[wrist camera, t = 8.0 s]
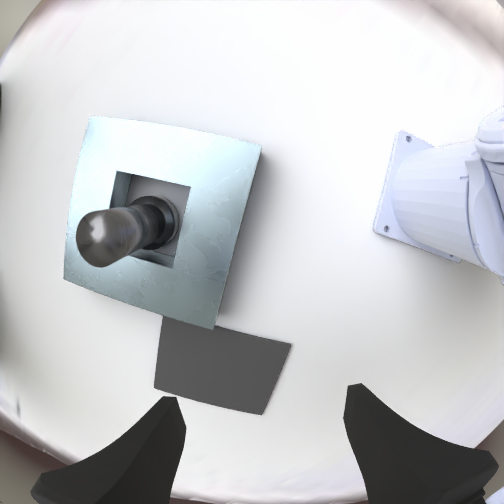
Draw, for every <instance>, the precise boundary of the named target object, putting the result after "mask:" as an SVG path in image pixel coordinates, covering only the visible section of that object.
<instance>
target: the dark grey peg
mask: <svg viewBox="0 0 504 504" xmlns="http://www.w3.org/2000/svg"><path fill="white" fill-rule="evenodd" d="M178 226H179V217H178V213H177V210H176V208H175V206H174V205H173V204H172V203H171V202H170V201H169V200H168V199H166V198H164V197H161V196H144V197H140V198H138V199H136V200H135V201H133V202H132V203H131V204H130V206H125V207H118V208H111V209H104V210H98V211H92V212H89V213H87V214H86V215H85V216H84V217H83V218H82V219H81V220H80V222H79V224H78V226H77V230H76V244H77V248H78V251H79V253H80V255H81V256H82V258H83V259H84V260H85V261H86V262H87V263H88V264H90V265H92V266H94V267H98V268H103V267H107V266H109V265H111V264H113V263H115V262H116V261H118V260H120V259H122V258H124V257H126V256H128V255H130V254H132V253H133V252H135V251H137V250H139V249H144V250H154V249H157V248H160V247H161V246H163V245H165V244H166V243H168V242H169V241H171V240H172V239H173V237H174V236H175V234H176V232H177V230H178Z"/></svg>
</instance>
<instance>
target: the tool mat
mask: <svg viewBox="0 0 504 504" xmlns="http://www.w3.org/2000/svg"><path fill="white" fill-rule="evenodd" d="M290 347H291V344H289V343H284V342H279V341H275V340H270V339H266V338H262V337H257V336H253V335H249V334H245V333H241V332H237V331H233V330H229V329H225V328H221V327H218V326H214V328H213V330H211V329H208V328H204V327H200V326H197V325H193V324H190V323H186V322H183V321H180V320H176V319H173V318H170V317H167V316H163V320H162V326H161V333H160V340H159V348H158V355H157V363H156V372H155V381H154V388H156V389H159V390H162V391H165V392H168V393H171V394H174V395H178V396H181V397H184V398H188V399H192V400H195V401H199V402H203V403H207V404H211V405H215V406H219V407H223V408H228V409H232V410H237V411H242V412H247V413H252V414H258V415H262V414H263V412H264V409H265V407H266V405H267V403H268V400H269V398H270V396H271V393H272V391H273V389H274V386H275V384H276V382H277V379H278V377H279V374H280V372H281V370H282V367H283V365H284V362H285V360H286V357H287V355H288V352H289V350H290Z"/></svg>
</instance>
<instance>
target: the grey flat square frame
mask: <svg viewBox="0 0 504 504" xmlns="http://www.w3.org/2000/svg"><path fill="white" fill-rule="evenodd" d="M261 148H262V146H261V145H258V144H254V143H250V142H246V141H242V140H238V139H233V138H229V137H225V136H220V135H216V134H211V133H206V132H201V131H196V130H191V129H186V128H180V127H175V126H169V125H163V124H156V123H150V122H143V121H135V120H127V119H119V118H109V117H99V116H90V119H89V122H88V125H87V129H86V132H85V136H84V140H83V144H82V148H81V152H80V156H79V160H78V165H77V170H76V174H75V179H74V185H73V190H72V196H71V203H70V209H69V217H68V225H67V234H66V245H65V258H64V279H65V280H67V281H69V282H72V283H74V284H77V285H79V286H82V287H84V288H87V289H89V290H92V291H95V292H97V293H100V294H102V295H105V296H108V297H111V298H113V299H116V300H119V301H122V302H124V303H127V304H130V305H133V306H136V307H139V308H142V309H145V310H148V311H151V312H154V313H157V314H160V315H163V316H167V317H170V318H173V319H176V320H180V321H183V322H186V323H190V324H193V325H197V326H200V327H204V328H208V329H211V330H213V328H214V325H215V321H216V318H217V315H218V311H219V307H220V303H221V299H222V295H223V291H224V287H225V284H226V280H227V276H228V272H229V268H230V264H231V260H232V257H233V253H234V249H235V245H236V241H237V238H238V234H239V230H240V226H241V223H242V219H243V215H244V212H245V208H246V204H247V200H248V197H249V193H250V190H251V186H252V182H253V179H254V175H255V171H256V168H257V164H258V161H259V157H260V154H261ZM132 174H136V175H141V176H145V177H150V178H155V179H159V180H164V181H168V182H172V183H177V184H181V185H185V186H189V187H191V189H190V193H189V197H188V201H187V205H186V209H185V213H184V218H183V222H182V226H181V231H180V235H179V240H178V245H177V250H176V254H175V257H172V256H168V255H165V254H161V253H158V252H154V251H151V250H144V249H139V250H137V251H135V252H133V253H132V254H130V255H128V256H126V257H124V258H122V259H120V260H118V261H116V262H115V263H113V264H111V265H109V266H107V267H103V268H98V267H94V266H92V265H90V264H88V263H87V262H86V261H85V260H84V259H83V258H82V256H81V255H80V253H79V251H78V248H77V244H76V230H77V226H78V224H79V222H80V220H81V219H82V218H83V217H84V216H85V215H86V214H87V213H89V212H92V211H98V210H104V209H111V208H118V207H125V204H126V199H127V194H128V189H129V185H130V180H131V176H132Z"/></svg>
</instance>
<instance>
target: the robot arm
mask: <svg viewBox="0 0 504 504" xmlns="http://www.w3.org/2000/svg"><path fill="white" fill-rule="evenodd" d="M406 137H408V138H409V142H407V141H406ZM386 225H387V227H388V230H387V231H386V232H384V227H385V226H386ZM373 228H374V231H375V232H376V233H378V234H381V235H384V236H387V237H390V238H393V239H396V240H398V241H401V242H404V243H407V244H409V245H412V246H415V247H417V248H420V249H423V250H425V251H428V252H431V253H433V254H436V255H439V256H441V257H444V258H446V259H449V260H451V261H454V262H456V263H460V262H461V261H462V259H463V260H466V261H468V262H470V263H473V264H475V265H478V266H480V267H482V268H485V269H487V270H489V271H492V272H494V273H496V274H497V275H498V276H499V277H500V279H501V283H502V285H504V106H502V107H501V108H499V109H497V110H495V111H494V112H492V113H491V114H489V115H488V116H487V117H486V118H484V119H483V120H482V122H481V123H480V125H479V128H478V132H477V134H476V136H475V139H474V141H468V142H462V143H456V144H450V145H445V146H439V147H434V146H432V145H431V144H429V143H427V142H425V141H423V140H421V139H420V138H418V137H416V136H414V135H412V134H410V133H408V132H406V131H404V130H400V131H398V132H397V133H396V136H395V141H394V146H393V150H392V155H391V160H390V164H389V168H388V173H387V177H386V181H385V185H384V189H383V193H382V196H381V200H380V204H379V207H378V211H377V215H376V218H375V221H374V226H373ZM450 254H451V256H450ZM343 419H344V423H345V428H346V432H347V436H348V439H349V442H350V444H351V447H352V450H353V452H354V455H355V457H356V460H357V463H358V465H359V468H360V470H361V473H362V476H363V479H364V482H365V487H366V491H367V496H368V500H369V504H504V487H502V488H501V489H500V490H498V491H497V492H496V493H494V494H493V495H491V496H490V497H489V498H488V499H486V500H484V499H483V497H482V496H484V495H485V491H484V490H483V487H484V486H485V485H486V484H487V483H488V481H489V480H490V479H491V478H492V477H493V476H494V474H495V473H496V471H497V469H498V467H499V465H498V463H497V462H496V460H495V459H494V457H493V456H492V455H491V453H490V452H489V451H485V450H478V449H473V448H468V447H464V446H460V445H457V444H453V443H450V442H448V441H445V440H442V439H440V438H438V437H435V436H433V435H431V434H429V433H427V432H425V431H423V430H421V429H419V428H418V427H416V426H414V425H413V424H411V423H409V422H408V421H406V420H405V419H404V418H402V417H401V416H399V415H398V414H397V413H395V412H394V411H393V410H392V409H390V408H389V407H388V406H387V405H386V404H384V403H383V402H382V401H381V400H380V399H379V398H377V397H376V396H375V395H374V394H373V393H372V392H371V391H370V390H369V389H368V388H366V387H365V386H364V385H363V384H362V383H360V384H355V385H350V386H348V389H347V397H346V404H345V410H344V417H343ZM185 435H186V425H185V422H184V419H183V416H182V413H181V410H180V407H179V404H178V401H177V398H176V397H168V396H163V397H162V398H161V399H160V400H159V401H158V402H157V403H156V404H155V405H154V406H153V407H152V408H151V409H150V410H149V411H148V412H147V413H146V414H145V415H144V416H143V417H142V418H141V419H140V420H139V421H138V422H137V423H136V424H135V425H134V426H132V427H131V428H130V429H129V430H128V431H127V432H125V433H124V434H123V435H122V436H121V437H120V438H118V439H117V440H116V441H114V442H113V443H111V444H110V445H109V446H107V447H105V448H104V449H102V450H101V451H99V452H97V453H95V454H94V455H92V456H90V457H88V458H86V459H84V460H82V461H80V462H77V463H75V464H72V465H70V466H67V467H64V468H61V469H57V470H53V471H49V472H45V473H42V474H41V475H40V477H39V478H38V480H37V482H36V483H35V485H34V486H33V488H32V490H31V495H32V497H33V498H34V499H35V500H36V501H37V502H38V503H39V504H169V500H170V494H171V489H172V485H173V481H174V478H175V475H176V471H177V468H178V465H179V462H180V458H181V455H182V451H183V448H184V442H185Z"/></svg>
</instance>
